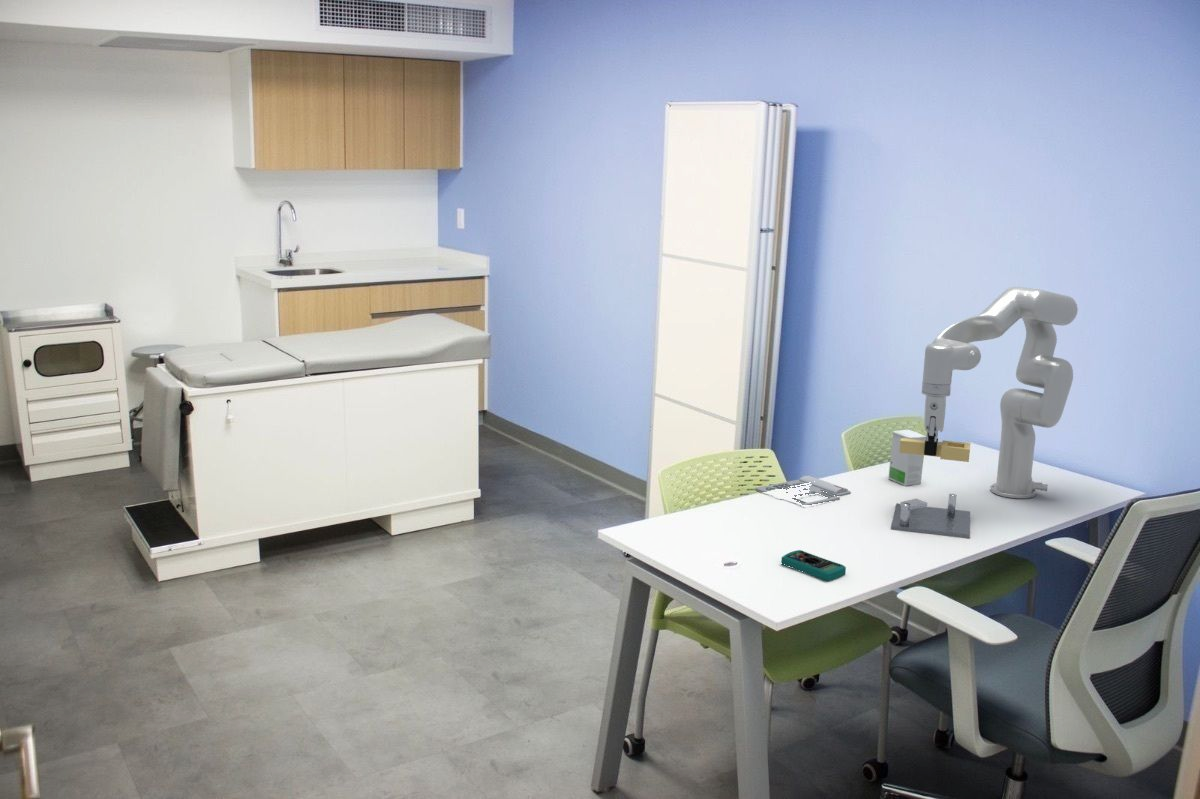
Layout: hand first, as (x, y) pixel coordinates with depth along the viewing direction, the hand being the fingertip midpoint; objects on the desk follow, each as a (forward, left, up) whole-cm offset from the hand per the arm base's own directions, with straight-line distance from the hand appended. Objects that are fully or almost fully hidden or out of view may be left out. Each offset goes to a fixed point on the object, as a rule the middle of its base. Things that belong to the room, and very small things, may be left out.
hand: (930, 452), depth 290 cm
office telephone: (+34, -7, -18) cm, 39 cm away
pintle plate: (-2, +7, -18) cm, 19 cm away
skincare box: (+7, -29, -18) cm, 35 cm away
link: (-1, 0, 0) cm, 1 cm away
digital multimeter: (+24, +53, -18) cm, 61 cm away
